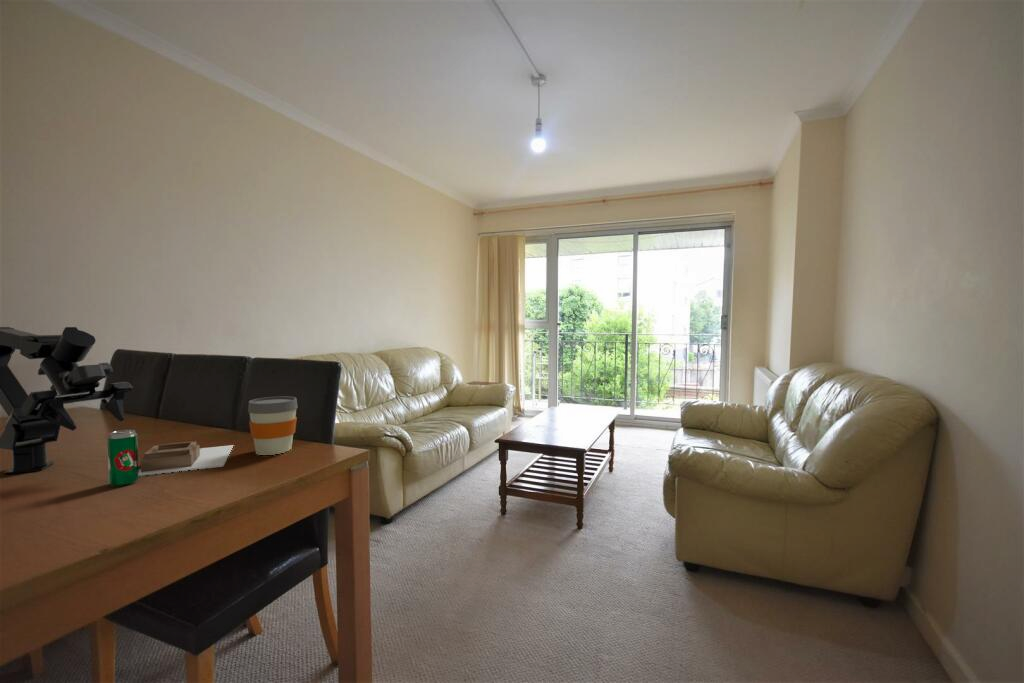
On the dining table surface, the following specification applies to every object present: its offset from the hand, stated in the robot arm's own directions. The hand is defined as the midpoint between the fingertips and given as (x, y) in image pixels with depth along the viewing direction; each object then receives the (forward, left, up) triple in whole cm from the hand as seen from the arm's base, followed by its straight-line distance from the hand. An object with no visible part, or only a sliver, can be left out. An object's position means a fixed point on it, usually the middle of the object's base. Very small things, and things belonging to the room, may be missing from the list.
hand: (99, 424), depth 99 cm
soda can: (+5, +5, -13) cm, 15 cm away
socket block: (-6, +12, -13) cm, 19 cm away
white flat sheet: (-9, +15, -13) cm, 22 cm away
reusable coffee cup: (-8, +35, -13) cm, 38 cm away
